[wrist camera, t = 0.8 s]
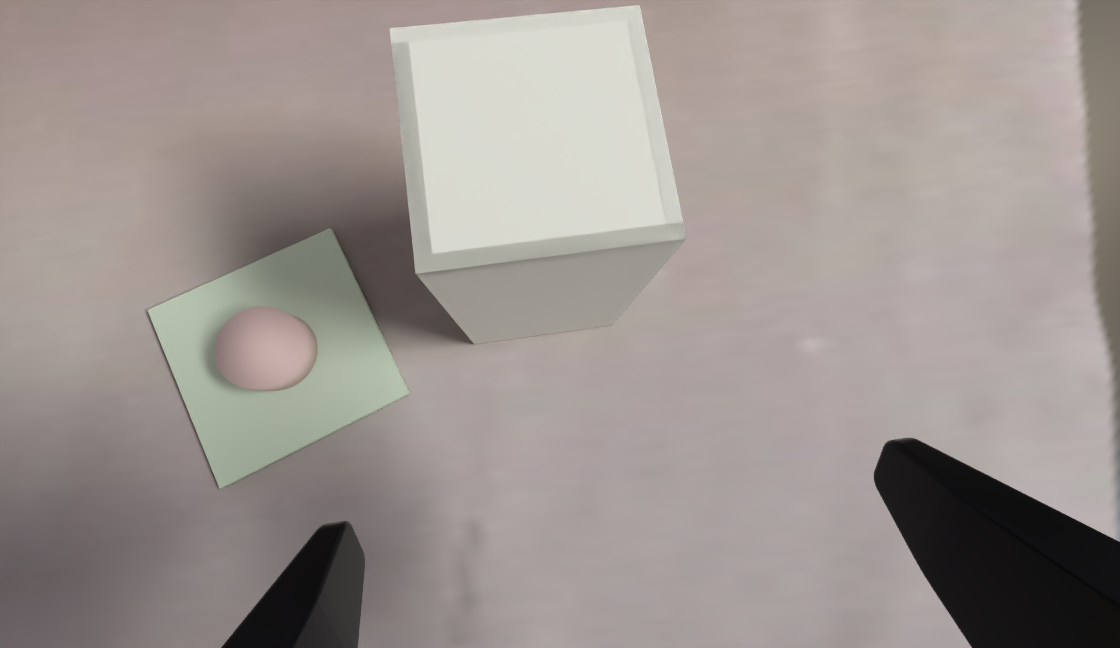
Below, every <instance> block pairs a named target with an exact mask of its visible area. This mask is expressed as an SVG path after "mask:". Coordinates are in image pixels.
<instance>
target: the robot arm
mask: <svg viewBox="0 0 1120 648" xmlns="http://www.w3.org/2000/svg"><path fill="white" fill-rule="evenodd" d="M874 482H875V485H876V487H877V490H878V491H879V493H880V495H881V497H882V499H883V501H884V503H885V505H886V506H887V508H888V510H889V512H890V514H891V516H892V518H893V519H894V521H895V523H896V525H897V527H898V529H899V531H900V532H901V534H902V536H903V538H904V540H905V542H906V544H907V545H908V547H909V549H910V551H911V553H912V555H913V557H914V558H915V560H916V562H917V564H918V565H919V567H920V569H921V571H922V572H923V574H924V576H925V577H926V579H927V580H928V582H929V583H930V585H931V587H932V588H933V590H934V591H935V593H936V594H937V596H938V597H939V599H940V600H941V602H942V603H943V605H944V606H945V608H946V609H947V611H948V612H949V614H950V615H951V617H952V618H953V620H954V621H955V623H956V624H957V626H958V627H959V629H960V630H961V632H962V633H963V635H964V636H965V638H966V639H967V641H968V643H969V644H970V646H971V647H972V648H1120V542H1119V541H1117V540H1115V539H1113V538H1111V537H1109V536H1107V535H1105V534H1103V533H1101V532H1099V531H1097V530H1095V529H1093V528H1091V527H1089V526H1087V525H1085V524H1083V523H1081V522H1079V521H1077V520H1075V519H1073V518H1071V517H1069V516H1067V515H1065V514H1063V513H1061V512H1059V511H1057V510H1055V509H1053V508H1051V507H1049V506H1047V505H1046V504H1044V503H1042V502H1040V501H1038V500H1036V499H1034V498H1032V497H1030V496H1028V495H1026V494H1024V493H1022V492H1020V491H1018V490H1016V489H1014V488H1012V487H1010V486H1008V485H1006V484H1004V483H1002V482H1000V481H998V480H996V479H994V478H992V477H990V476H988V475H986V474H984V473H982V472H980V471H978V470H976V469H974V468H972V467H970V466H968V465H967V464H965V463H963V462H961V461H959V460H957V459H955V458H953V457H951V456H949V455H947V454H945V453H943V452H941V451H939V450H937V449H935V448H933V447H931V446H929V445H927V444H925V443H923V442H921V441H919V440H917V439H914V438H902V439H895V440H890V441H888V442H887V443H885V445H884V447H883V449H882V452H881V455H880V457H879V460H878V463H877V466H876V468H875V471H874ZM364 570H365V558H364V553H363V550H362V547H361V545H360V543H359V541H358V538H357V536H356V534H355V532H354V529H353V527H352V525H351V524H350V523H349V522H347V521H342V522H335V523H328V524H324V525H322V526H321V527H319V528H318V529H317V530H316V532H315V533H314V534H313V535H312V537H311V538H310V539H309V540H308V541H307V543H306V544H305V545H304V546H303V548H302V549H301V550H300V551H299V553H298V554H297V555H296V556H295V557H294V559H293V560H292V561H291V562H290V564H289V565H288V566H287V567H286V569H285V570H284V571H283V572H282V573H281V575H280V576H279V577H278V578H277V580H276V581H275V582H274V583H273V585H272V586H271V587H270V588H269V589H268V591H267V592H266V593H265V594H264V596H263V597H262V598H261V599H260V601H259V602H258V603H257V604H256V605H255V607H254V608H253V609H252V610H251V612H250V613H249V614H248V615H247V617H246V618H245V619H244V620H243V621H242V623H241V624H240V625H239V626H238V628H237V629H236V630H235V631H234V633H233V634H232V635H231V636H230V637H229V639H228V640H227V641H226V642H225V644H224V645H223V646H222V647H221V648H358V637H359V626H360V615H361V603H362V592H363V581H364Z"/></svg>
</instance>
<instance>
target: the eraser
mask: <svg viewBox="0 0 1120 648" xmlns="http://www.w3.org/2000/svg"><path fill="white" fill-rule="evenodd" d="M215 358H216V362H217V365H218V368H219V370H220V371H221V373H222V374H223V375H224V377H225V378H226V379H227V380H229V381H230V382H231V383H233V384H235V385H237V386H239V387H242V388H246V389H254V390H266V391H281V390H285V389H288V388H291V387H293V386H295V385H297V384H298V383H300V382H301V381H302V380H303V379H304V378H305V377H306V376H307V375H308V374H309V373H310V371H311V370H312V368H313V366H314V364H315V361H316V358H317V340H316V337H315V335H314V332H313V331H312V329H311V328H310V327H309V325H308V324H307V323H305V322H304V321H303V320H301V319H300V318H298V317H296V316H293V315H291V314H288V313H286V312H283V311H281V310H278V309H276V308H272V307H267V306H258V307H252V308H248V309H245V310H243V311H241V312H239V313H237V314H236V315H234V316H233V317H232V318H230V319H229V320H228V321H227V322H226V324H225V325H224V326H223V328H222V329H221V331H220V333H219V335H218V337H217V341H216V345H215Z"/></svg>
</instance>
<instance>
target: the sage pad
mask: <svg viewBox="0 0 1120 648" xmlns="http://www.w3.org/2000/svg"><path fill="white" fill-rule="evenodd" d="M258 306H267V307H272V308H276V309H278V310H281V311H283V312H286V313H288V314H291V315H293V316H296V317H298V318H300V319H301V320H303V321H304V322H305V323H307V324H308V325H309V327H310V328H311V329H312V331H313V332H314V335H315V337H316V340H317V358H316V361H315V364H314V366H313V368H312V370H311V371H310V373H309V374H308V375H307V376H306V377H305V378H304V379H303V380H302V381H301V382H300V383H298V384H297V385H295V386H293V387H291V388H288V389H285V390H281V391H266V390H254V389H246V388H242V387H239V386H237V385H235V384H233V383H231V382H230V381H229V380H227V379H226V378H225V377H224V375H223V374H222V373H221V371H220V370H219V368H218V365H217V362H216V358H215V345H216V341H217V337H218V335H219V333H220V331H221V329H222V328H223V326H224V325H225V324H226V322H227V321H228V320H229V319H230V318H232V317H233V316H234V315H236V314H237V313H239V312H241V311H243V310H245V309H248V308H252V307H258ZM148 313H149V315H150V318H151V320H152V323H153V325H154V328H155V330H156V333H157V335H158V338H159V340H160V343H161V345H162V348H163V350H164V353H165V355H166V357H167V360H168V362H169V365H170V367H171V370H172V372H173V375H174V377H175V380H176V382H177V385H178V387H179V390H180V392H181V395H182V397H183V400H184V402H185V404H186V407H187V409H188V412H189V414H190V417H191V419H192V422H193V424H194V427H195V429H196V432H197V434H198V437H199V439H200V442H201V444H202V446H203V449H204V451H205V454H206V456H207V459H208V461H209V464H210V466H211V469H212V471H213V474H214V476H215V479H216V481H217V484H218V486H219V489H221V488H225V487H227V486H229V485H231V484H233V483H235V482H237V481H239V480H241V479H243V478H245V477H247V476H249V475H251V474H252V473H254V472H256V471H258V470H260V469H262V468H264V467H266V466H268V465H270V464H272V463H274V462H276V461H278V460H280V459H282V458H284V457H286V456H288V455H290V454H292V453H294V452H296V451H298V450H300V449H302V448H304V447H306V446H308V445H310V444H312V443H314V442H316V441H318V440H320V439H322V438H324V437H326V436H328V435H330V434H332V433H334V432H336V431H338V430H340V429H342V428H344V427H346V426H348V425H350V424H352V423H354V422H356V421H358V420H360V419H362V418H364V417H366V416H368V415H370V414H372V413H374V412H376V411H378V410H380V409H382V408H384V407H386V406H388V405H390V404H392V403H394V402H395V401H397V400H399V399H401V398H403V397H405V396H407V395H409V394H410V393H409V390H408V388H407V386H406V384H405V382H404V380H403V378H402V376H401V373H400V371H399V369H398V367H397V365H396V363H395V361H394V359H393V357H392V354H391V352H390V350H389V348H388V346H387V344H386V342H385V340H384V337H383V335H382V333H381V331H380V329H379V327H378V325H377V323H376V320H375V318H374V316H373V314H372V312H371V310H370V308H369V306H368V304H367V301H366V299H365V297H364V295H363V293H362V291H361V289H360V287H359V284H358V282H357V280H356V278H355V276H354V274H353V272H352V270H351V267H350V265H349V263H348V261H347V259H346V257H345V255H344V253H343V251H342V248H341V246H340V244H339V242H338V240H337V238H336V236H335V234H334V231H333V230H332V229H331V228H329V229H327V230H324V231H322V232H320V233H318V234H315V235H313V236H311V237H309V238H307V239H304V240H302V241H300V242H298V243H295V244H293V245H291V246H289V247H287V248H284V249H282V250H280V251H278V252H275V253H273V254H271V255H269V256H267V257H264V258H262V259H260V260H258V261H255V262H253V263H251V264H249V265H246V266H244V267H242V268H240V269H238V270H235V271H233V272H231V273H229V274H226V275H224V276H222V277H220V278H218V279H215V280H213V281H211V282H209V283H206V284H204V285H202V286H200V287H198V288H195V289H193V290H191V291H189V292H186V293H184V294H182V295H180V296H178V297H175V298H173V299H171V300H169V301H166V302H164V303H162V304H160V305H158V306H155V307H153V308H151V309H149V310H148Z"/></svg>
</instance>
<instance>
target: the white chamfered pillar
mask: <svg viewBox="0 0 1120 648" xmlns="http://www.w3.org/2000/svg"><path fill="white" fill-rule="evenodd" d="M390 36H391V46H392V55H393V65H394V74H395V84H396V93H397V103H398V112H399V122H400V131H401V141H402V150H403V160H404V169H405V179H406V188H407V198H408V207H409V217H410V226H411V236H412V245H413V255H414V264H415V274H416V275H417V276H418V277H419V279H420V280H421V281H422V282H423V283H424V285H425V286H426V287H427V288H428V289H429V291H430V292H431V293H432V294H433V295H434V297H435V298H436V299H437V300H438V301H439V303H440V304H441V305H442V306H443V307H444V309H445V310H446V311H447V312H448V313H449V315H450V316H451V317H452V318H453V319H454V321H455V322H456V323H457V324H458V325H459V327H460V328H461V329H462V330H463V331H464V333H465V334H466V335H467V336H468V337H469V339H470V340H471V341H472V342H473V343H474V344H481V343H488V342H495V341H502V340H509V339H516V338H524V337H531V336H538V335H545V334H552V333H559V332H566V331H573V330H581V329H588V328H595V327H602V326H609V325H613V324H614V323H615V321H616V320H617V319H618V318H619V317H620V316H621V314H622V313H623V312H624V311H625V310H626V309H627V307H628V306H629V305H630V304H631V303H632V302H633V300H634V299H635V298H636V297H637V296H638V295H639V293H640V292H641V291H642V290H643V289H644V288H645V286H646V285H647V284H648V283H649V282H650V281H651V279H652V278H653V277H654V276H655V275H656V274H657V273H658V271H659V270H660V269H661V268H662V267H663V266H664V264H665V263H666V262H667V261H668V260H669V259H670V257H671V256H672V255H673V254H674V253H675V252H676V250H677V249H678V248H679V247H680V246H681V245H682V243H683V242H684V241H685V240H686V234H685V229H684V224H683V219H682V214H681V209H680V204H679V199H678V194H677V189H676V184H675V179H674V174H673V169H672V164H671V159H670V154H669V149H668V144H667V139H666V134H665V129H664V124H663V119H662V115H661V110H660V105H659V100H658V95H657V90H656V85H655V80H654V75H653V70H652V65H651V60H650V55H649V50H648V45H647V40H646V35H645V30H644V25H643V20H642V15H641V10H640V5H636V6H626V7H615V8H604V9H593V10H583V11H572V12H561V13H550V14H540V15H529V16H518V17H508V18H497V19H486V20H475V21H465V22H454V23H443V24H432V25H422V26H411V27H400V28H390Z"/></svg>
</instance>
